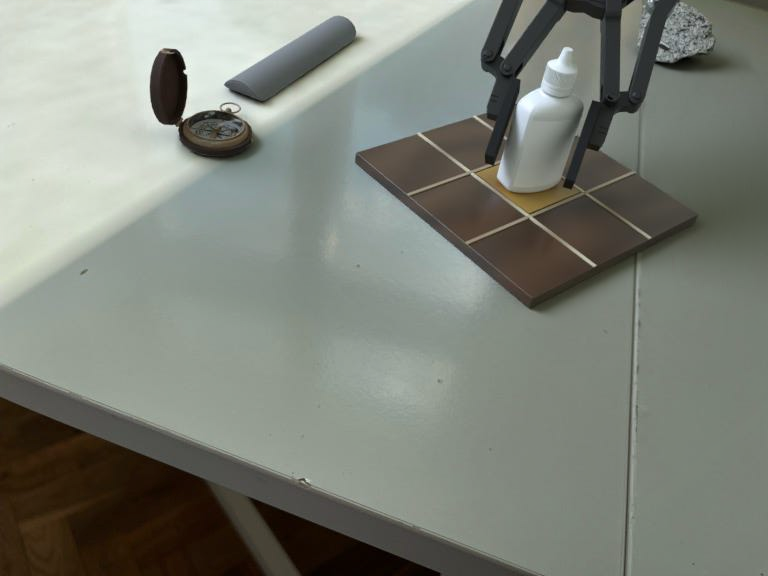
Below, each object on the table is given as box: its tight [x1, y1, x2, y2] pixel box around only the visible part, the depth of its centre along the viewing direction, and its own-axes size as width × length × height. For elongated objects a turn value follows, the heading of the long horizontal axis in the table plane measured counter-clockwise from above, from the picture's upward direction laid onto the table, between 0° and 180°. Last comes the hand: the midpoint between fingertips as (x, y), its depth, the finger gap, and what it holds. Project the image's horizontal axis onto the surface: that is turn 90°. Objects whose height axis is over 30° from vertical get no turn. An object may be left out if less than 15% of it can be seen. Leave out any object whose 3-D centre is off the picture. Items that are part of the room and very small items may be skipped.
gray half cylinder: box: [223, 15, 357, 102], centre depth 79 cm, size 4×20×2 cm, turn 153°
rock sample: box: [636, 0, 719, 64], centre depth 93 cm, size 10×8×9 cm
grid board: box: [354, 102, 700, 309], centre depth 67 cm, size 21×21×1 cm
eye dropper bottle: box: [497, 46, 585, 193], centre depth 63 cm, size 4×6×12 cm
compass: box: [149, 47, 254, 158], centre depth 65 cm, size 8×8×7 cm
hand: (528, 171), depth 62 cm, fingers open, 6 cm apart
